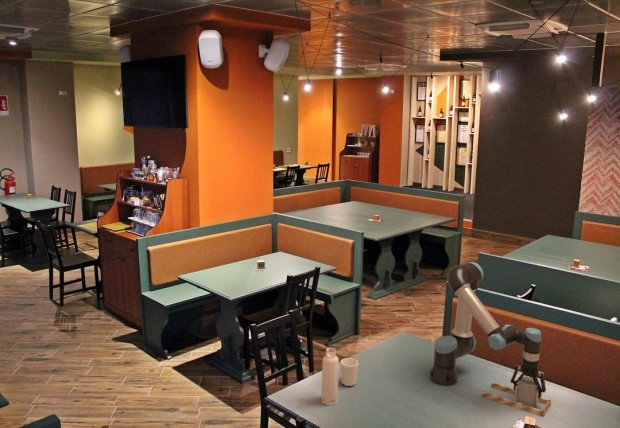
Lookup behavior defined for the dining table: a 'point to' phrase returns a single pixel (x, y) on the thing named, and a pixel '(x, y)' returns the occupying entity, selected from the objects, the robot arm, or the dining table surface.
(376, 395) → the dining table surface
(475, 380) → the dining table surface
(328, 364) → the bottle
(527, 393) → the speckled beige cylinder
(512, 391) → the beam frame
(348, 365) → the cup
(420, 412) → the dining table surface
